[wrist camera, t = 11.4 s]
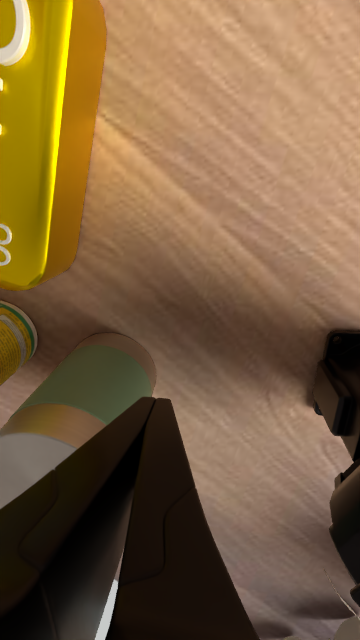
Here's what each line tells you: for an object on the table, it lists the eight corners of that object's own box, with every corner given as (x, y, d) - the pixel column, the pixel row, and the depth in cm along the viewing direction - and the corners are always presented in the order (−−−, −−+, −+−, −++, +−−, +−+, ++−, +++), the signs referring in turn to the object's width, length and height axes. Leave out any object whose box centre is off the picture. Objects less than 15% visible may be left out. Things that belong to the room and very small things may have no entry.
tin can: (155, 333, 21) (108, 439, 12) (158, 410, 24) (121, 545, 15) (64, 329, 22) (-44, 426, 13) (77, 404, 25) (-6, 529, 16)
